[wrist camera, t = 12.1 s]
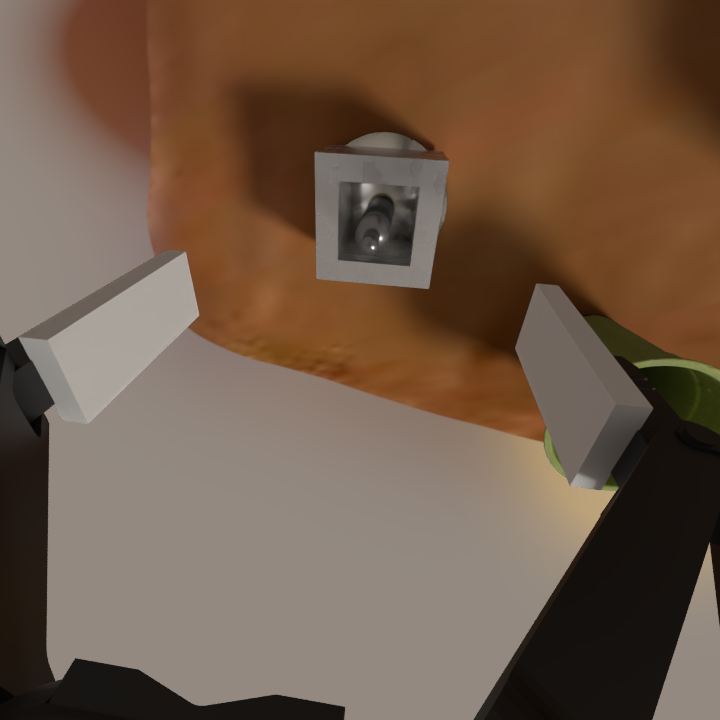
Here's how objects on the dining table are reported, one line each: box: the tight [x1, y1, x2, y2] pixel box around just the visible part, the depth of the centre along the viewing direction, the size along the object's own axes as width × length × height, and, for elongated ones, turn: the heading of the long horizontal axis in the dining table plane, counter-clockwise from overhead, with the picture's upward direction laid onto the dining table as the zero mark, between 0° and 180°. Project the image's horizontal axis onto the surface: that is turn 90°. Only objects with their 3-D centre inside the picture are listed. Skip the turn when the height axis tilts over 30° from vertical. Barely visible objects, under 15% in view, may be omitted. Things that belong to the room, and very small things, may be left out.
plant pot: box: [544, 315, 720, 491], centre depth 30 cm, size 12×12×11 cm
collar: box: [315, 144, 449, 289], centre depth 27 cm, size 8×8×6 cm
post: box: [347, 132, 447, 256], centre depth 26 cm, size 10×10×11 cm
